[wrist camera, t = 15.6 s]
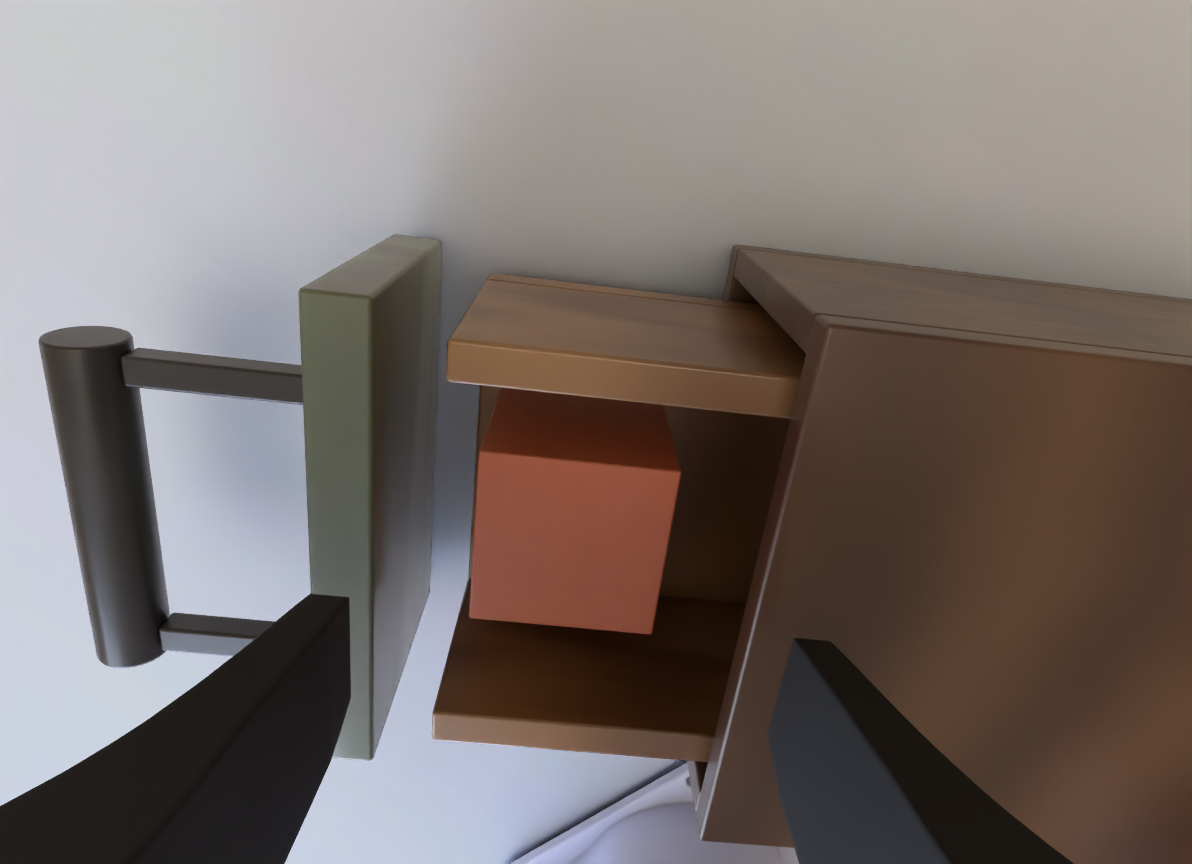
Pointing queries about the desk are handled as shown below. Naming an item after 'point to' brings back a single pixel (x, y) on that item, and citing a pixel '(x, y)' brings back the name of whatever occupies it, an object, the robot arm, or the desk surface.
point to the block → (573, 512)
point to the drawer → (405, 493)
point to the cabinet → (980, 543)
